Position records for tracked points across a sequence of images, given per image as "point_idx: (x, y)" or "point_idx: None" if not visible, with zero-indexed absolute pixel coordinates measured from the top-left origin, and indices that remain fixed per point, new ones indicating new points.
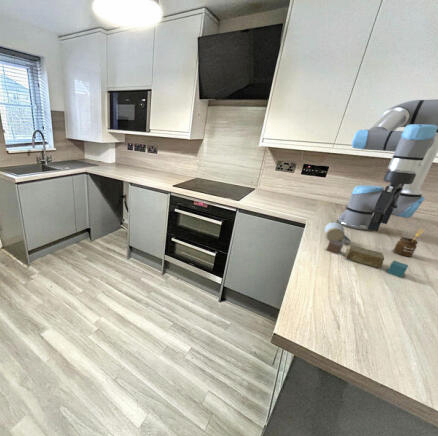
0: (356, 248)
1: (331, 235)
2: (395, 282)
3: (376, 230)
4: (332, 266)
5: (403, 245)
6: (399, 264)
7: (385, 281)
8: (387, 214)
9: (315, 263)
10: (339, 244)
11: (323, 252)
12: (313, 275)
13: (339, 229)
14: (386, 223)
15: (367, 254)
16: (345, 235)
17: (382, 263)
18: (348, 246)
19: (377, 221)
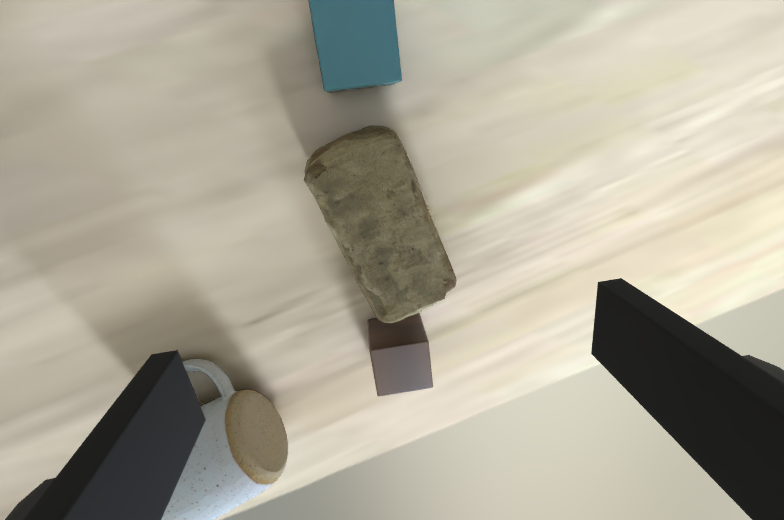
0: (409, 281)
1: (274, 436)
2: (493, 5)
3: (625, 288)
4: (600, 249)
5: None
6: (363, 42)
7: (534, 42)
8: (119, 491)
9: None
10: (413, 351)
11: (470, 344)
12: (769, 240)
13: (243, 463)
14: (175, 357)
15: (428, 212)
16: None
17: (353, 133)
18: (402, 317)
19: (779, 372)
